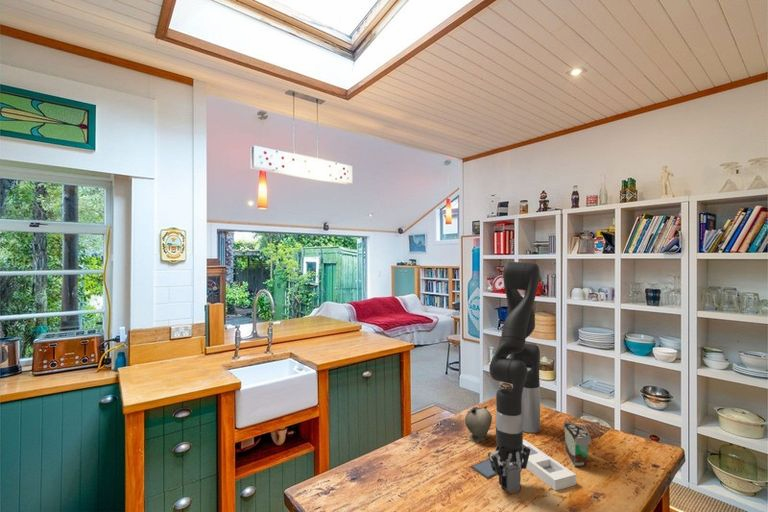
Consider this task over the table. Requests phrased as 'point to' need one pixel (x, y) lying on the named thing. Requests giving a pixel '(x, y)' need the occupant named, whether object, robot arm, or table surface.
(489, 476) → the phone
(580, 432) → the food container
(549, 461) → the power strip
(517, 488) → the block
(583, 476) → the table surface
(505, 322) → the robot arm
